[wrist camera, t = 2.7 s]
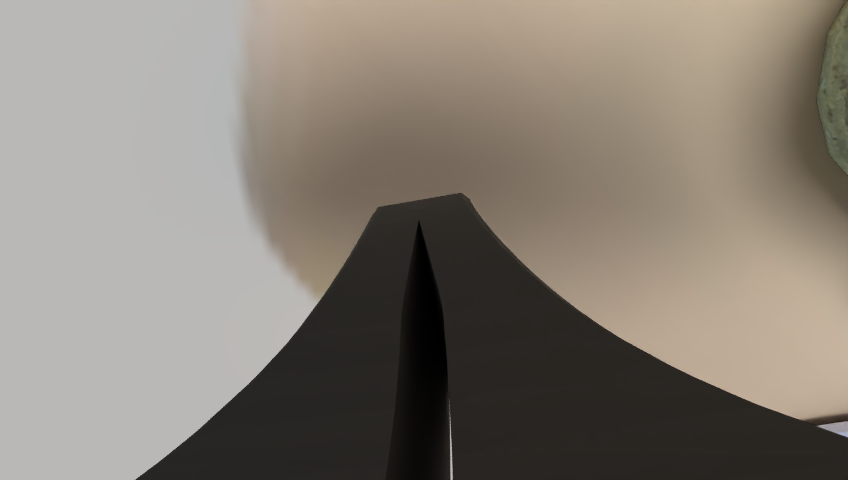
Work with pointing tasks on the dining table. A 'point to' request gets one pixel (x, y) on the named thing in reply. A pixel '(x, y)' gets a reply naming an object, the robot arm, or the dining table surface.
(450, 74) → the dining table surface
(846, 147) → the vessel
